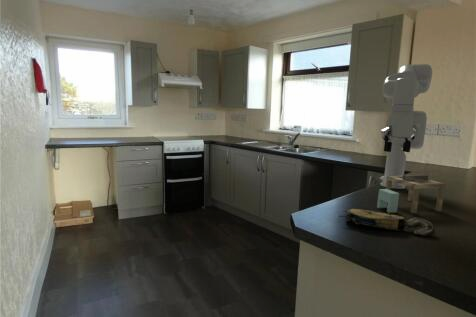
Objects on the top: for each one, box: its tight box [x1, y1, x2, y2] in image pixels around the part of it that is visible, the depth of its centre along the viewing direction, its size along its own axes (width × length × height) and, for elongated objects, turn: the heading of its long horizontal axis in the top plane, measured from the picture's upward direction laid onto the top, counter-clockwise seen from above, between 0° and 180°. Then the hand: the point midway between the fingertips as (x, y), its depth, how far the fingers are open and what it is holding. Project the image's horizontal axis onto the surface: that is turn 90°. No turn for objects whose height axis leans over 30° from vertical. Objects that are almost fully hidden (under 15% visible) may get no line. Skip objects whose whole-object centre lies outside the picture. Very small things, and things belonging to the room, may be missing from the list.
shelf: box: [385, 174, 446, 214], centre depth 131 cm, size 16×15×14 cm
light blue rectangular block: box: [376, 188, 400, 214], centre depth 125 cm, size 7×4×8 cm, turn 17°
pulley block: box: [338, 208, 436, 237], centre depth 106 cm, size 14×6×30 cm
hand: (396, 151), depth 123 cm, fingers open, 9 cm apart
